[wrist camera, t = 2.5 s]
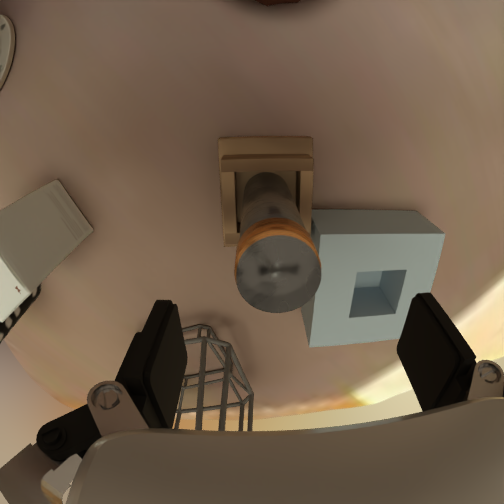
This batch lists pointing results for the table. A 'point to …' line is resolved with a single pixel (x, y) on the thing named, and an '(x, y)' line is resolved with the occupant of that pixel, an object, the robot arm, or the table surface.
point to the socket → (368, 273)
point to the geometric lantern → (226, 381)
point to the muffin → (276, 1)
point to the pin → (274, 248)
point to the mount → (257, 161)
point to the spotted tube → (17, 313)
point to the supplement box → (36, 241)
